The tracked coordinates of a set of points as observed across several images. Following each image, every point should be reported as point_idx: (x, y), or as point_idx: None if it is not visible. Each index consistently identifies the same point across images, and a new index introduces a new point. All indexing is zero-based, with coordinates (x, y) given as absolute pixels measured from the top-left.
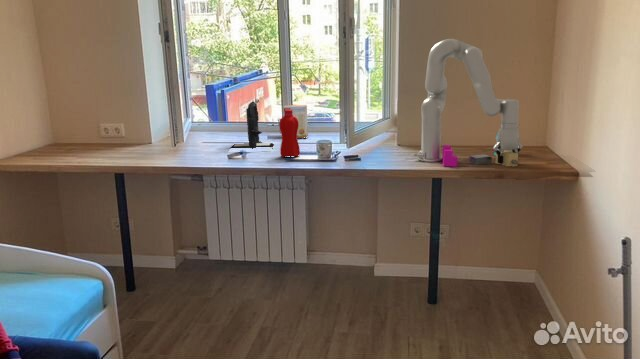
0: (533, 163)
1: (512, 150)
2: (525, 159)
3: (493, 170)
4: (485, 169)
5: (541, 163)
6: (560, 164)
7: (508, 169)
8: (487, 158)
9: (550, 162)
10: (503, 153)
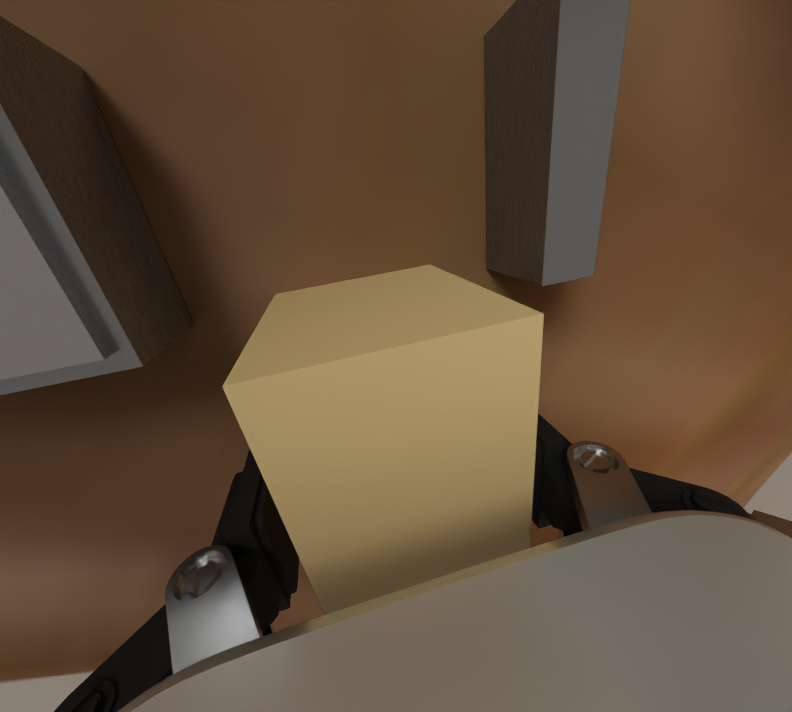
0: (642, 409)
1: (580, 519)
2: (733, 211)
3: (127, 630)
4: (26, 608)
5: (691, 417)
6: (758, 458)
7: (301, 590)
8: (28, 383)
9: (771, 393)
10: (322, 596)
